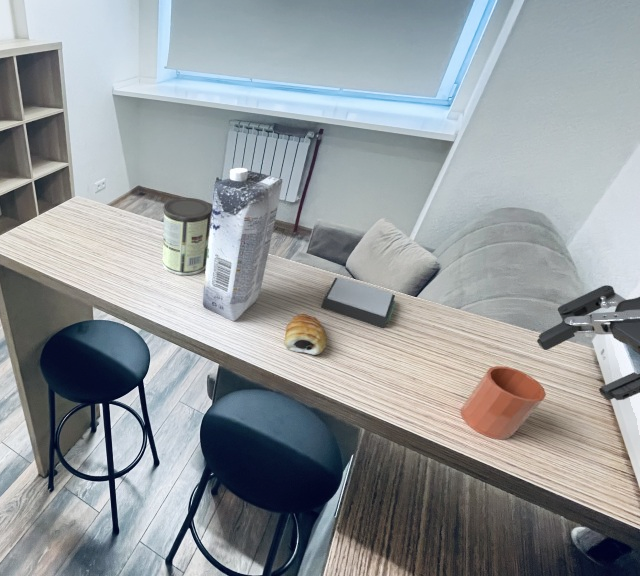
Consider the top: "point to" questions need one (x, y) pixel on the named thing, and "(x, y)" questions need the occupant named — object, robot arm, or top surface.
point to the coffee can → (186, 235)
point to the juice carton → (239, 240)
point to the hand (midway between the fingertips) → (569, 368)
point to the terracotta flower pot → (502, 402)
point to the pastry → (305, 335)
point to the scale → (359, 301)
